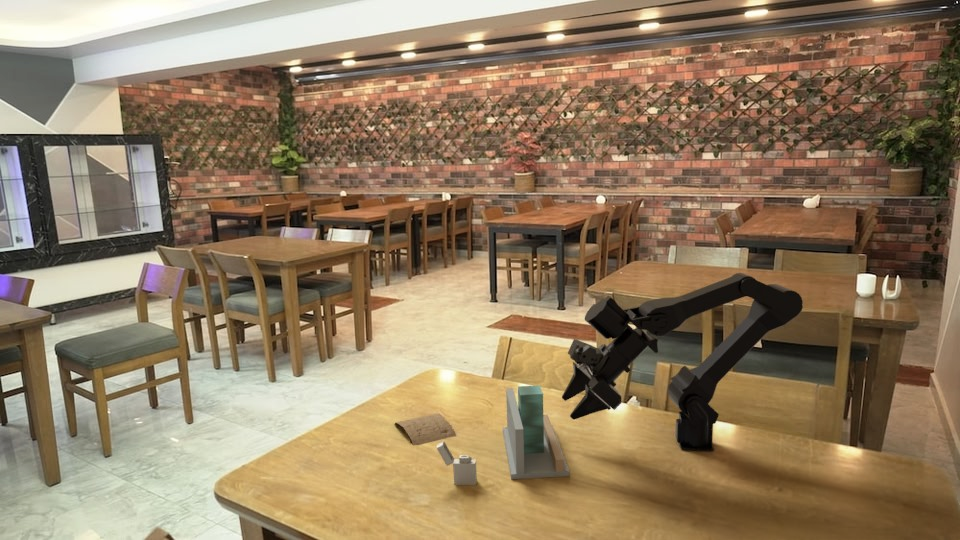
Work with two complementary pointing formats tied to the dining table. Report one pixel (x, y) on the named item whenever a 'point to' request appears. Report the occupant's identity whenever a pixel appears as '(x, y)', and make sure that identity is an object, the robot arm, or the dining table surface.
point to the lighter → (459, 466)
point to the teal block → (531, 418)
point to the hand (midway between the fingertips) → (567, 408)
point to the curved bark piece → (427, 429)
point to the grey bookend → (531, 463)
